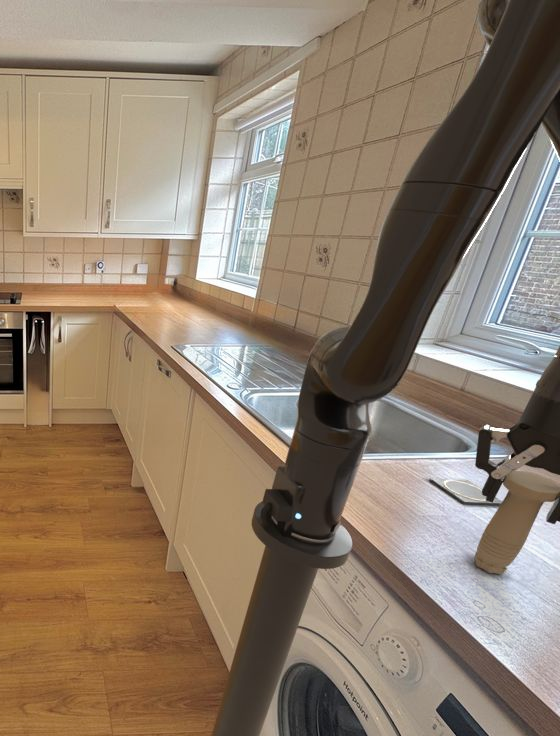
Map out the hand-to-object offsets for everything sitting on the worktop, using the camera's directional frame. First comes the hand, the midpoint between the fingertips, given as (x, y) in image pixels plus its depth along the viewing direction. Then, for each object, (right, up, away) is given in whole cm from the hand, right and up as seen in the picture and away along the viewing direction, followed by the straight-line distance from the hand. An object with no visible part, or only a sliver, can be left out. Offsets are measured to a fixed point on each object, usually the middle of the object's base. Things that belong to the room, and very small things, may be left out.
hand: (519, 509), depth 57 cm
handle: (0, -10, +4) cm, 11 cm away
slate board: (+15, -3, +22) cm, 26 cm away
